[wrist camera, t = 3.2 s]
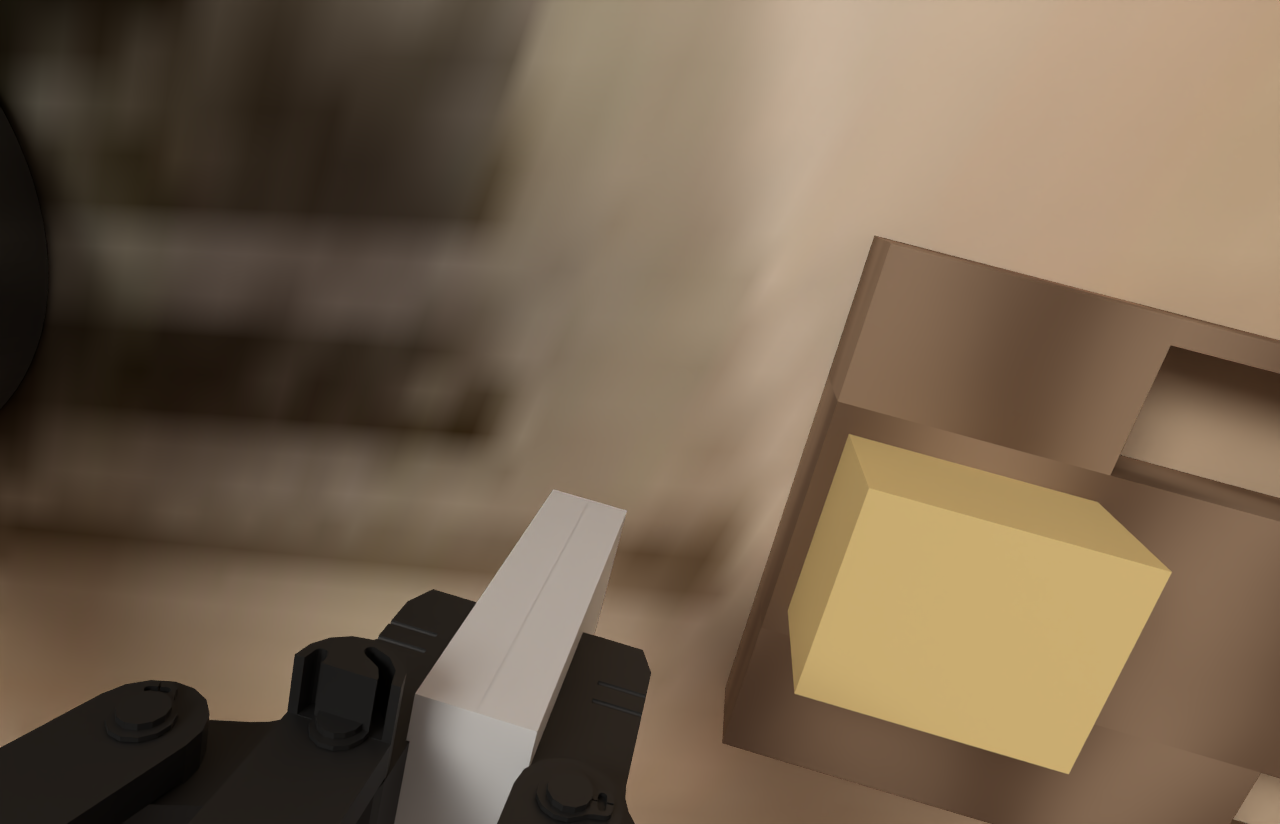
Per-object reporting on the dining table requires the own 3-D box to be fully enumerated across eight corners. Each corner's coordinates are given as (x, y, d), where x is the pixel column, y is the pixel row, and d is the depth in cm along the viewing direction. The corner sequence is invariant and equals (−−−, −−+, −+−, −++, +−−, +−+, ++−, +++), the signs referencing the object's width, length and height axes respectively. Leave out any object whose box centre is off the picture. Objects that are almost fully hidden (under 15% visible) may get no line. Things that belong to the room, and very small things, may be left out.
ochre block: (787, 610, 21) (794, 693, 17) (848, 433, 19) (869, 487, 16) (1017, 676, 20) (1068, 774, 17) (1097, 502, 19) (1172, 571, 15)
